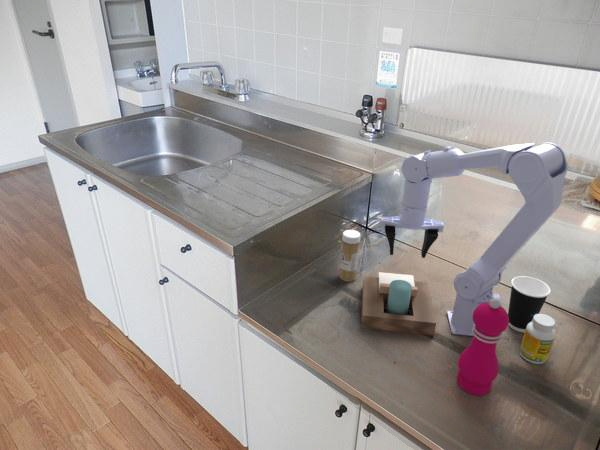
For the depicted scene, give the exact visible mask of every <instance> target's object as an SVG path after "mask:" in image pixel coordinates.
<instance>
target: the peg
mask: <svg viewBox="0 0 600 450" xmlns="http://www.w3.org/2000/svg"><path fill="white" fill-rule="evenodd" d="M411 290H412V286H411V284H410V283H408V282H406V281H404V280H394V281H392V282H391V283H390V289H389V297H388V304H387V308H386V311H385V313H389V314H399V315H409V313H408V312H409V310H408V308H409V302H410V296H411Z"/></svg>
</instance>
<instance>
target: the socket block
mask: <svg viewBox="0 0 600 450" xmlns="http://www.w3.org/2000/svg"><path fill="white" fill-rule="evenodd" d="M414 284H415V287H417V289H418V290H417V296H416V297H414V296H410V302H409V308H408V312H409V314H407V315H399V314H389V313H386V312H384V311H385V309H387V304H388V297H389V294H384V293H379V277H375V276H365V275H364V276H363V282H362V298H361V299H362V301H361V325H360V326H361V327H360V328H361V329H368V330H369V329H370V330H378V331H379V330H380V331H386V332H398V333H406V334H413V335H414V334H415V335H424V336H431V337H432V336H435V332H436V327H437V319H436V315H435V311H434V310H435V309H434V304H433V300H432V295H431V289H430V285H429V282H426V281H416V280H414Z"/></svg>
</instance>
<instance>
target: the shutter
mask: <svg viewBox="0 0 600 450" xmlns="http://www.w3.org/2000/svg"><path fill="white" fill-rule="evenodd" d="M378 278H379V293H384V294H389V289H390V283H391V282H392V281H394V280H404V281H406V282H408V283H410V284H411V286H412V290H411V296H414V297H416V296H417V290H418V289H417V287H415V284H414V281H415V278H414V274H413V275H412V274H402V273H392V272H383V271H382V272H380V271H379V272H378Z"/></svg>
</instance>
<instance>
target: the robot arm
mask: <svg viewBox="0 0 600 450" xmlns="http://www.w3.org/2000/svg"><path fill="white" fill-rule="evenodd" d="M533 146H534V147H533ZM483 168H499V170H500V171H501V173H502V174H503V175H508V174H509V175H510V176H509V177H510V179H511V180H512V181H513V183H514V184H515V186H516V187H517V189H518V191H519V192H520V194H521V195H522V197H523V199H524V202H525V203H524V204H523V206H522V207H521V208H520V209H519V210H518V212H517V213H516V214H515V215H514V217H513V218H511V220H510V222H509V223H508V224H507V225H506V226H505V227H504V228H503V230H502V231H501V232H500V233H499V235H498V236H497V237H496V238H495V239H494V240H493V242H492V243H491V244H490V245H489V246H488V248H487V249H486V250H485V251H484V252H483V254H482V255H481V256H480V257H479V258H478V259H476V261H475V262H473V264H471V265H470V266H469V267H468V268H467V269H465V270H464V271H462V272H459V273H458V274H457V275H456V276H455V277H454V279H453V287H454V290H455V292H456V295H455V299H454V305H453V309H452V310H447V311H446V315H447V319H448V323H449V328H450V331H451V332H450V333H451V334H452V335H460V336H466V337H467V336H469V337H473V336H474V335H473V333H472V329H473V325H474V322H473V313H474V310H475V309H476V307H477V306H479V305H480V304H482V303H487V302H489V301H490V300H491V299H494V298H495V299H497V300H499V302H500V306H501V307H502V305H503V303H502V297H501V295H500V294H498V293H495V292H493V289H494V286H498V284H499V283H500V282H501V280H502V276H503V272H504V271H505V270H506V269H507V265H508V264H509V263H510V262H511V261H512V259H514V257H515V256H517V254H518V253H519V252H520V251H521V250H522V248H523V247H524V246H525V245H526V244H527V243H528V242H529V241H530V240H531V239H532V237H533V236H534V235H536V233H537V232H538V231H539V230H540V229H541V228H542V226H544V225H545V223H546V222H547V221H548V220H549V219H550V217H552V216H553V214H554V213H555V212H556V211H557V210H558V209H559V208H560V206H561V204H562V198H563V191H564V184H565V177H566V174H567V173H568V170H569V168H570V167H569V163H568V160H567V157H566V154H565V152H564V150H563V149H562V147H561V146H559V145H558V144H556V143H553V142H548V141H547V142H541V143H539V144H537V145H536V143H534V142H533V143H532V142H531V143H530V142H529V143H520V144H519V143H518V144H511V145H510V144H509V145H504V146H499V147H493V148H487V149H482V150H477V151H470V152H463V151H462V150H461V149H459V148H453V147H452V146H445V147H443V148H442V150H438V151H436V150H435V151H432V150H431V149H429V150H425V151H424V152H421V153H418V154H414V155H411V156H409V157H407V158H405V159H404V161H403V162H402V163H401V172H402V176H403V177H404V178H405V180H404V187H403V195H402V202H401V208H400V209H401V211H400V215H397V216H396V215H395V216H381V217H380V225H379V227H380V228H384V233H385V236H386V238H387V241H388V245H389V255H390V256H393V255H394V252H395V251H394V250H395V249H394V248H395V247H394V246H395V238H396V228H400V229H407V230H415V231H417V230H422V231H423V230H424V236H423V237H424V238H423V242H422V247H421V255H420V256H421V258H422V259H426V256H427V253H428V251H429V250H430V249H431V246H433V244H434V243H435V242H436V241H437V239H438V237H439V233H443V232H444V229H445V228H444V227H445V224H444V221H439V220H433V219H430V218H426V215H427V209H428V203H429V197H430V191H431V185H432V183H433V182H432V181H433V179H440V178H442V179H443V178H451V177H459V176H461V175H462V174H463V173H464V172H465V170H469V169H470V170H471V169H483Z"/></svg>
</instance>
